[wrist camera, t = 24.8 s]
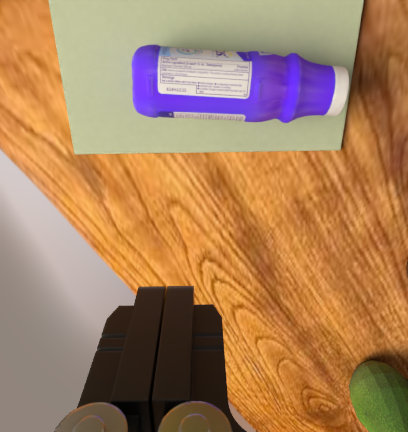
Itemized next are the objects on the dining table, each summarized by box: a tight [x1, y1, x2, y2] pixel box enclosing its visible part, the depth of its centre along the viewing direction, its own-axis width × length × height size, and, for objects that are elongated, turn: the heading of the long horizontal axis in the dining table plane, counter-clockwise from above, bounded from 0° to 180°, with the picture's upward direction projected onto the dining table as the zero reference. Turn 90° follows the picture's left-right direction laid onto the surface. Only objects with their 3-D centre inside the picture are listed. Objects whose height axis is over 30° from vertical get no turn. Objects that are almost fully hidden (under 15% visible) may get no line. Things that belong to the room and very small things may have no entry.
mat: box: [49, 0, 364, 154], centre depth 35 cm, size 14×27×1 cm, turn 91°
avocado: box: [349, 360, 408, 432], centre depth 47 cm, size 8×8×12 cm
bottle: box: [132, 45, 349, 123], centre depth 31 cm, size 7×6×17 cm
